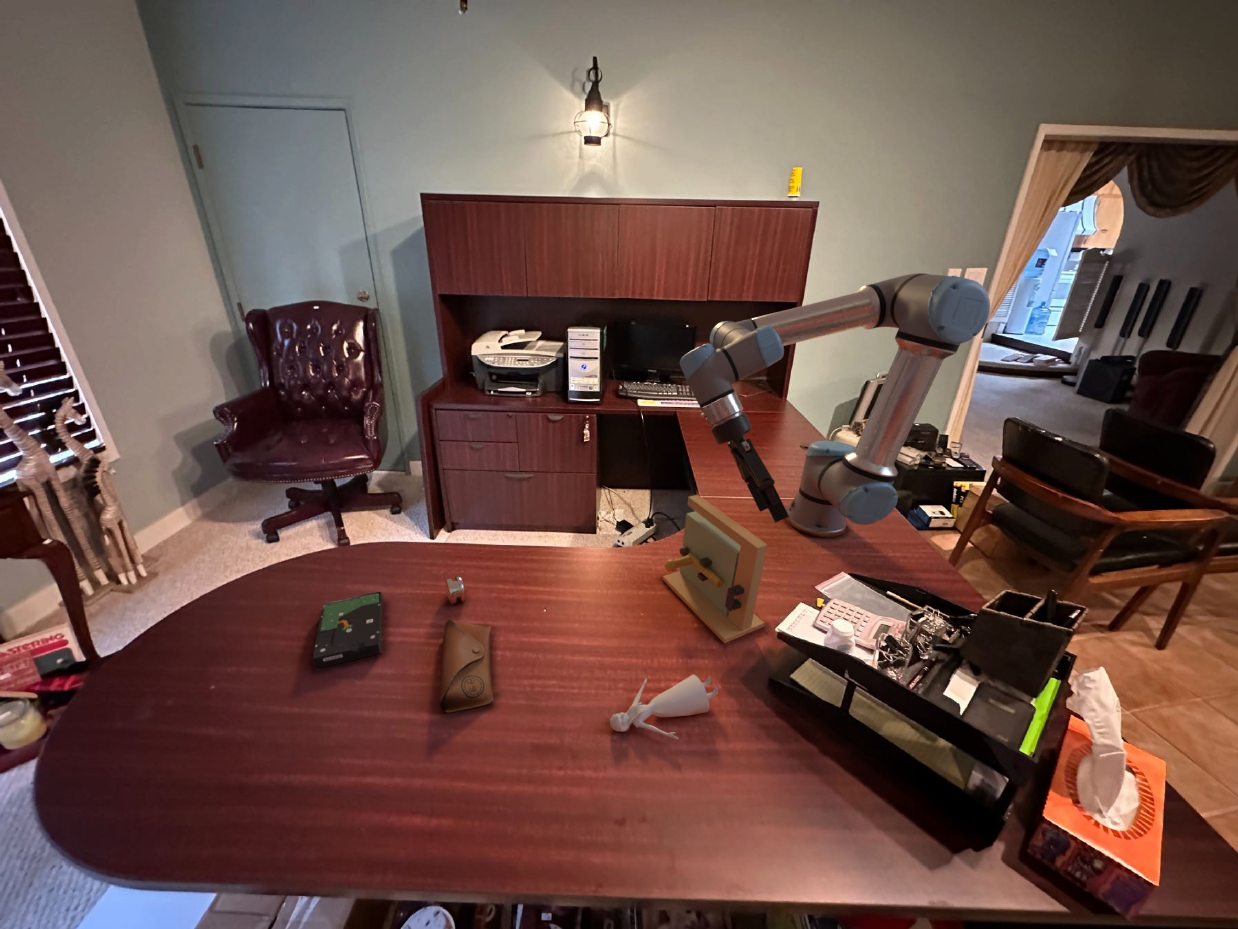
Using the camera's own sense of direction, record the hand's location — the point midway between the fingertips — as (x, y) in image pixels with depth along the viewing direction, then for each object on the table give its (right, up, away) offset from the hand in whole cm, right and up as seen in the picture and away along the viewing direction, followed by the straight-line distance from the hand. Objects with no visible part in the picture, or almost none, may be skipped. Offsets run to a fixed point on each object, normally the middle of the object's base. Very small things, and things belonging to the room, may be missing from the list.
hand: (773, 513), depth 100 cm
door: (-12, -19, +3) cm, 23 cm away
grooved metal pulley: (-64, -18, 0) cm, 67 cm away
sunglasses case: (-57, -25, -15) cm, 64 cm away
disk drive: (-80, -21, -9) cm, 84 cm away
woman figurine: (-24, -30, -22) cm, 44 cm away
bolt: (-17, -13, -1) cm, 21 cm away
